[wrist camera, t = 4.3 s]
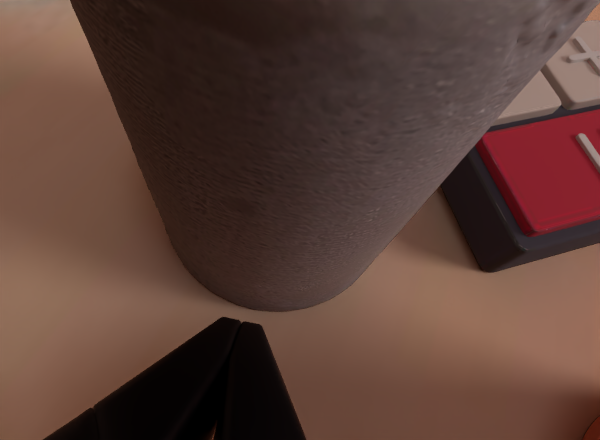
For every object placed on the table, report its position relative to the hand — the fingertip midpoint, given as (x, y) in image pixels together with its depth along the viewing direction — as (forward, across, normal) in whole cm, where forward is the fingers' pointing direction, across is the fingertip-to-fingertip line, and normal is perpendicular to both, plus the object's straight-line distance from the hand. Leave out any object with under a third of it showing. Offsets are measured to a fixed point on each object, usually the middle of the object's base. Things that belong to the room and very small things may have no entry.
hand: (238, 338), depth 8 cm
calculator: (+15, -14, -5) cm, 21 cm away
